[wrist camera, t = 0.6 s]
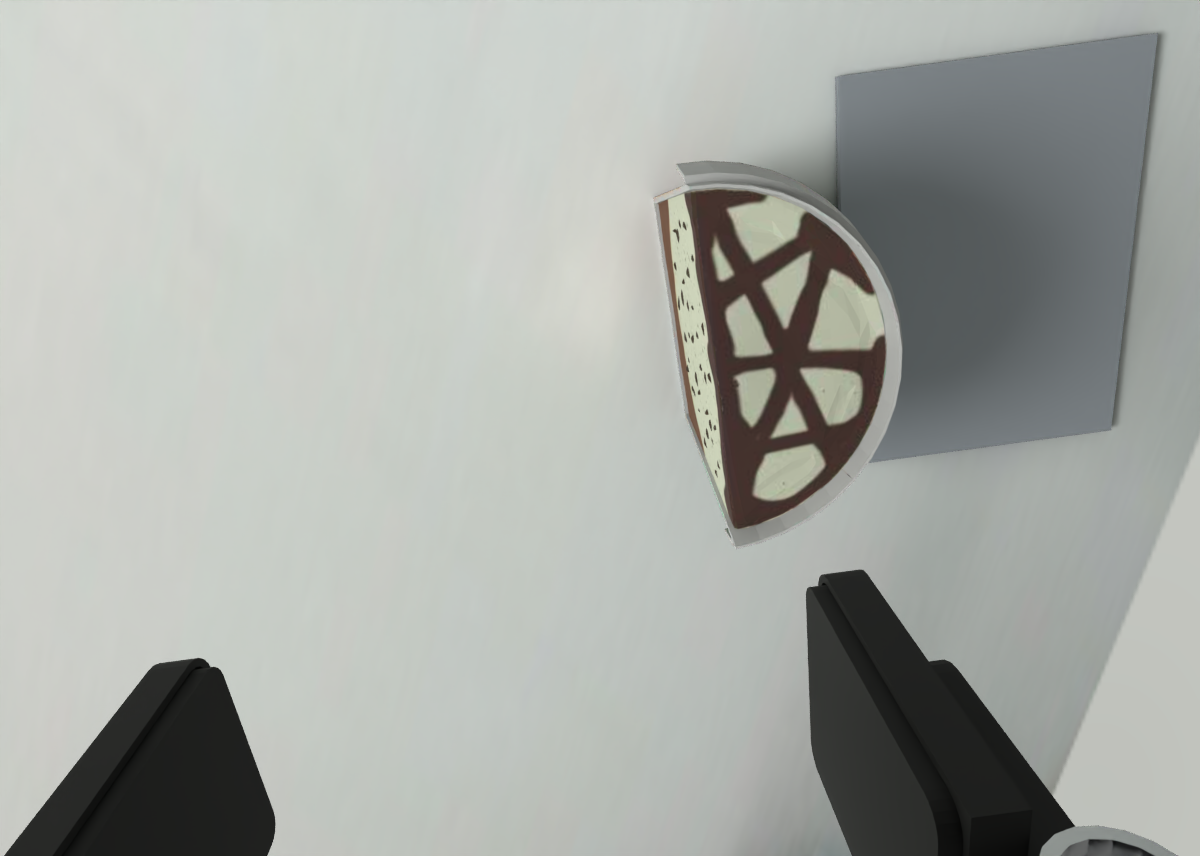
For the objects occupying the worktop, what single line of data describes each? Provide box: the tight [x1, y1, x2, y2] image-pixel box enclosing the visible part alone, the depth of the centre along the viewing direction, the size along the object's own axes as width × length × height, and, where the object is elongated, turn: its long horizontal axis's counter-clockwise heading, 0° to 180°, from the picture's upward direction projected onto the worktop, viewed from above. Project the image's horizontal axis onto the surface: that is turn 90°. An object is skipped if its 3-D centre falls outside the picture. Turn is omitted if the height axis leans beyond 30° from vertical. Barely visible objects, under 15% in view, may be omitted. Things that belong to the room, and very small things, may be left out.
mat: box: [835, 33, 1158, 463], centre depth 32 cm, size 16×12×1 cm
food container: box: [654, 161, 903, 549], centre depth 27 cm, size 12×6×10 cm, turn 10°
